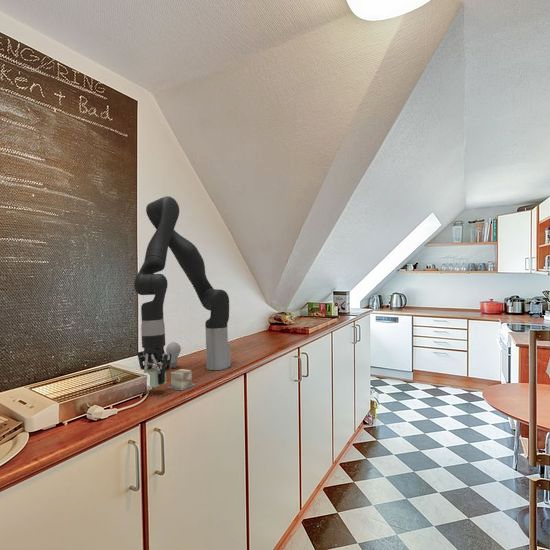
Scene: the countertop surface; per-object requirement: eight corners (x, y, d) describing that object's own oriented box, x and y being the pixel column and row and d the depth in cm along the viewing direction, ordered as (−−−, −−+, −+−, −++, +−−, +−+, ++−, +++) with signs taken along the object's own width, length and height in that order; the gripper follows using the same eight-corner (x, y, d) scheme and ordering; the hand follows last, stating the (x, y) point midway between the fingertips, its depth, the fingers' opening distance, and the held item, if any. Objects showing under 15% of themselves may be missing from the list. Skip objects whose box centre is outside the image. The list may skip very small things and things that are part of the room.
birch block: (181, 382, 128) (180, 368, 128) (191, 384, 126) (191, 370, 126) (171, 386, 124) (170, 372, 124) (181, 388, 122) (181, 374, 122)
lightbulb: (175, 365, 155) (175, 340, 155) (184, 367, 152) (183, 341, 152) (163, 368, 151) (162, 342, 151) (172, 370, 147) (171, 344, 147)
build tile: (181, 382, 130) (181, 381, 130) (196, 385, 126) (196, 383, 126) (166, 388, 124) (166, 387, 124) (182, 391, 120) (182, 389, 120)
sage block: (155, 381, 123) (155, 367, 123) (166, 382, 120) (165, 368, 120) (144, 385, 118) (143, 370, 118) (155, 387, 116) (154, 372, 116)
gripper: (129, 333, 119) (131, 383, 119) (160, 336, 112) (162, 389, 113) (147, 330, 126) (149, 377, 126) (177, 332, 119) (179, 382, 119)
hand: (155, 382), depth 119 cm, fingers closed on sage block, 5 cm apart
